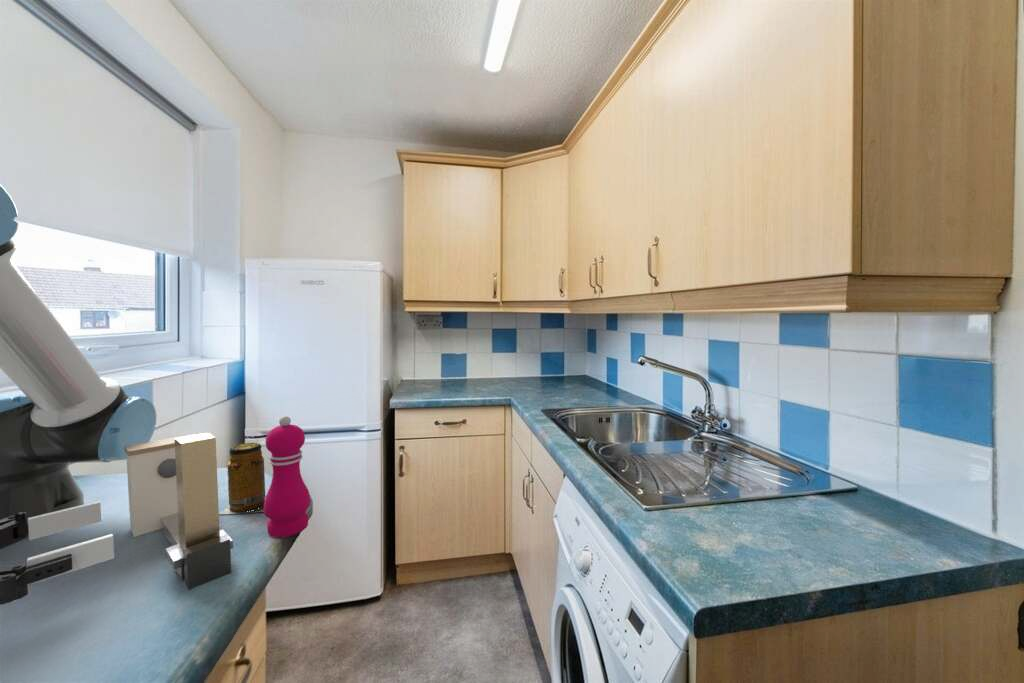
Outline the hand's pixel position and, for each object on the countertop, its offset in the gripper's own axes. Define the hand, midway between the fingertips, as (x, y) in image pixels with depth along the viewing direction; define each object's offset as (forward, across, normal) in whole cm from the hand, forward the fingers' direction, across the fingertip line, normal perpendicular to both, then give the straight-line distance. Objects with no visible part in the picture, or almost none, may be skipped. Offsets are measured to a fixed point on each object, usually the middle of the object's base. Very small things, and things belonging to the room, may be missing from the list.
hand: (106, 526), depth 53 cm
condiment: (+22, -17, -10) cm, 29 cm away
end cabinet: (+10, -21, -10) cm, 25 cm away
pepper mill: (+22, -2, -10) cm, 25 cm away
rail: (+10, -8, -10) cm, 16 cm away
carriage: (+10, 0, -10) cm, 14 cm away
